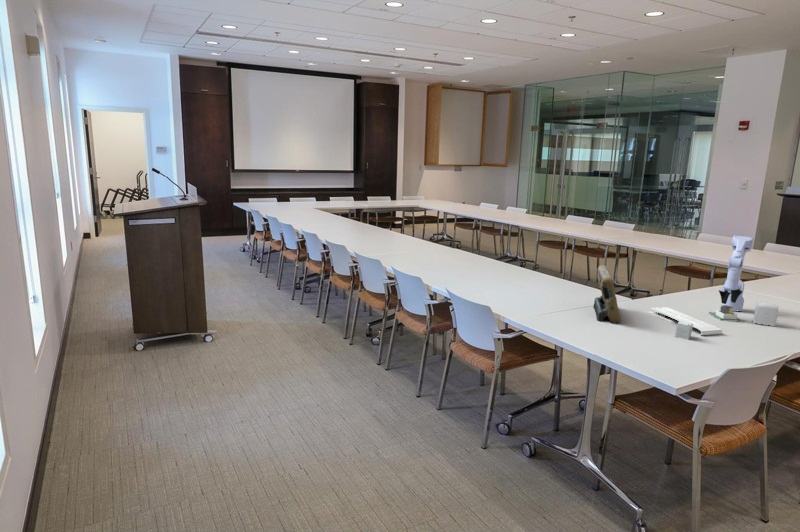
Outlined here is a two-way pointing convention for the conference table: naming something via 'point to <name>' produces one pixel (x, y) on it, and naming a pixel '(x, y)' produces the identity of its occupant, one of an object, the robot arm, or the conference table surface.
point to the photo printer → (766, 313)
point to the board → (724, 315)
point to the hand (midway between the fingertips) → (728, 302)
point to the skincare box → (684, 329)
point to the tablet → (606, 297)
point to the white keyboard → (687, 320)
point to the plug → (726, 309)
